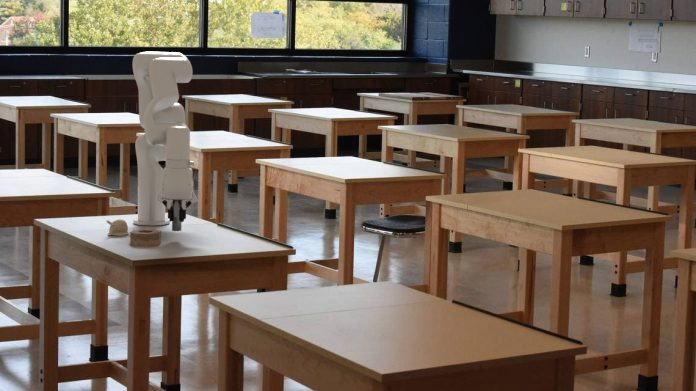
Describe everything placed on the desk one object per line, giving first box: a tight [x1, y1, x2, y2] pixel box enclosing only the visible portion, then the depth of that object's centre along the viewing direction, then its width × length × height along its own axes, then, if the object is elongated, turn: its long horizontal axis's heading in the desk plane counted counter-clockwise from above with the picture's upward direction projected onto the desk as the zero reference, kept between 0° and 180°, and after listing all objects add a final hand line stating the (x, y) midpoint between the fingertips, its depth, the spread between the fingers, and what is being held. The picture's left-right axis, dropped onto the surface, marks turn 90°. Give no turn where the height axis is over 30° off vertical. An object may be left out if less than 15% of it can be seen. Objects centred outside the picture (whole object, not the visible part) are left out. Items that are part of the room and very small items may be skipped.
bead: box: [129, 228, 162, 248], centre depth 369 cm, size 9×9×4 cm
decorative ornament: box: [105, 219, 129, 237], centre depth 384 cm, size 4×8×5 cm, turn 127°
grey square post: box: [171, 200, 183, 232], centre depth 375 cm, size 3×3×10 cm
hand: (176, 220), depth 376 cm, fingers closed on grey square post, 3 cm apart
